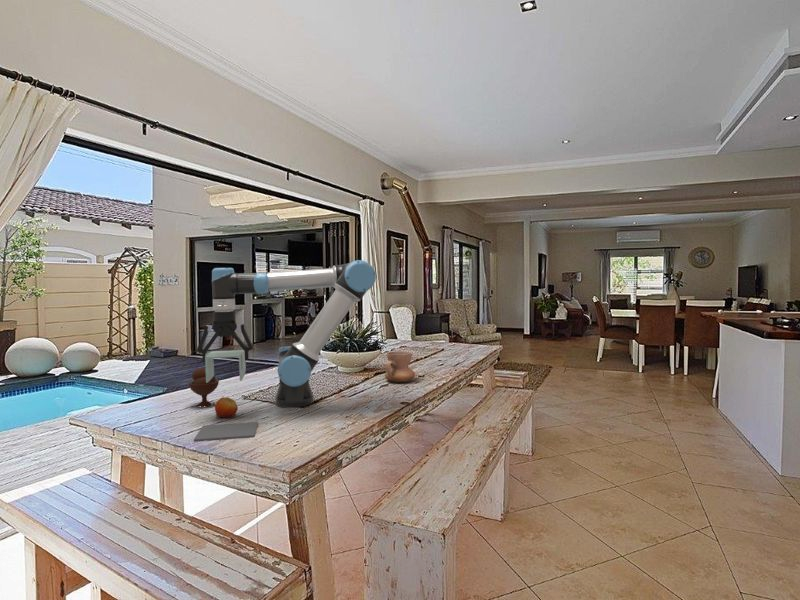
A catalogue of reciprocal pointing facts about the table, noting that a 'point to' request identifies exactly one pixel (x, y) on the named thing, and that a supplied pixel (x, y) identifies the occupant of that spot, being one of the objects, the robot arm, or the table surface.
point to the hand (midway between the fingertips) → (226, 370)
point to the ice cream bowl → (203, 385)
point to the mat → (226, 431)
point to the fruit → (225, 407)
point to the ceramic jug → (399, 367)
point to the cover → (222, 354)
